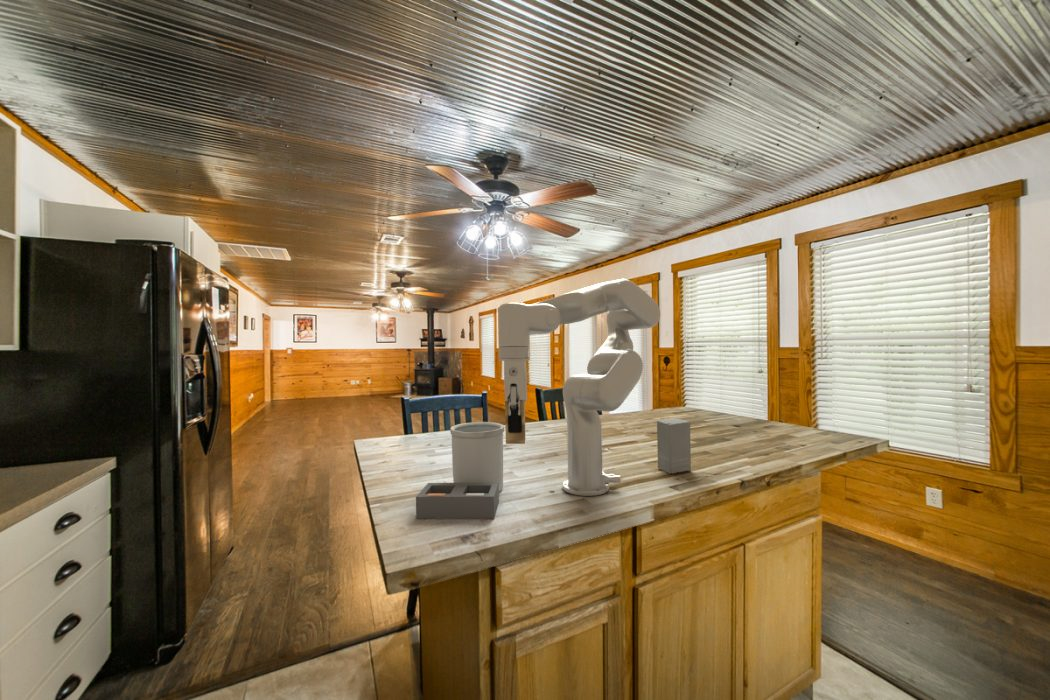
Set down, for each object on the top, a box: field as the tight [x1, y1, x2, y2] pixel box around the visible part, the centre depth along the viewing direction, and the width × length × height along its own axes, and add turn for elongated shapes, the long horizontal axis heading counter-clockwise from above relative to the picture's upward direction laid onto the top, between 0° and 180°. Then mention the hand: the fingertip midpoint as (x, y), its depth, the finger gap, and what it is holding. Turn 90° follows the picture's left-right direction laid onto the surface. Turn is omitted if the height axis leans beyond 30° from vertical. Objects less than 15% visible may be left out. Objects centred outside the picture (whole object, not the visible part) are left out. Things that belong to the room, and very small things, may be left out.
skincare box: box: [656, 418, 692, 474], centre depth 125 cm, size 8×7×16 cm
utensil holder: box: [449, 421, 505, 493], centre depth 110 cm, size 15×15×18 cm
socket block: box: [415, 482, 500, 520], centre depth 95 cm, size 18×10×5 cm, turn 88°
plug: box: [504, 400, 526, 445], centre depth 95 cm, size 4×4×10 cm
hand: (515, 429), depth 95 cm, fingers closed on plug, 4 cm apart
